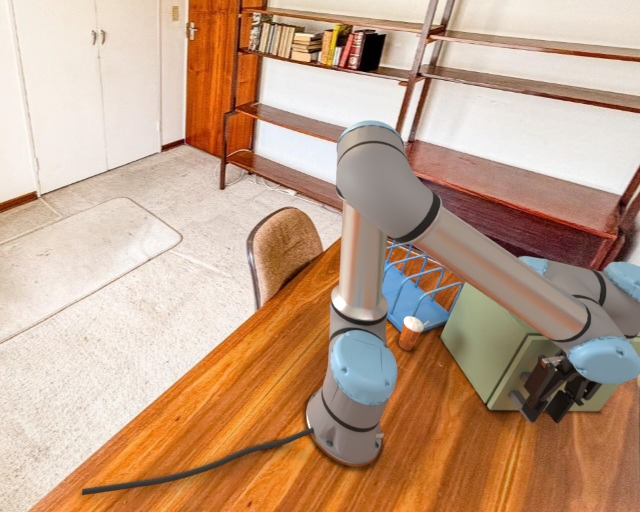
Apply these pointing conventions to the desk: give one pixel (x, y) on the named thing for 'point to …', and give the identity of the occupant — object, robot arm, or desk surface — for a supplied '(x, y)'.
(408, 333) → the milkshake
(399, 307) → the file sorter
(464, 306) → the cupboard
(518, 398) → the door
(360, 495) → the desk surface
